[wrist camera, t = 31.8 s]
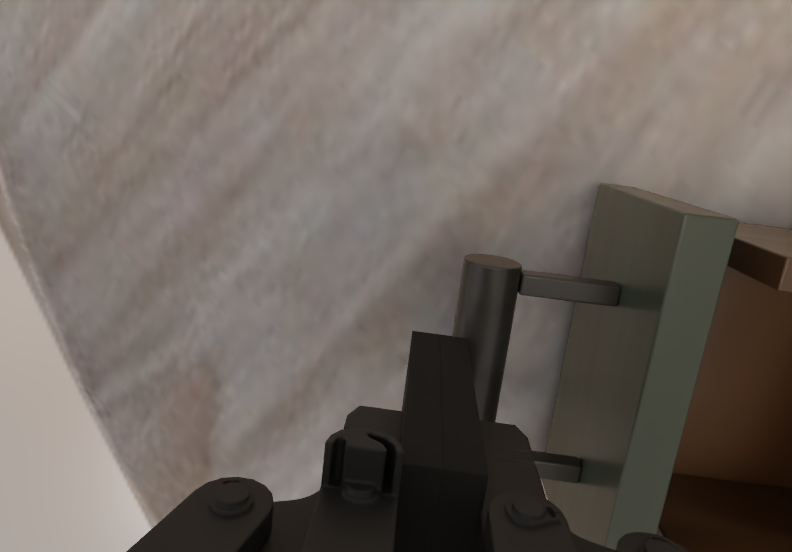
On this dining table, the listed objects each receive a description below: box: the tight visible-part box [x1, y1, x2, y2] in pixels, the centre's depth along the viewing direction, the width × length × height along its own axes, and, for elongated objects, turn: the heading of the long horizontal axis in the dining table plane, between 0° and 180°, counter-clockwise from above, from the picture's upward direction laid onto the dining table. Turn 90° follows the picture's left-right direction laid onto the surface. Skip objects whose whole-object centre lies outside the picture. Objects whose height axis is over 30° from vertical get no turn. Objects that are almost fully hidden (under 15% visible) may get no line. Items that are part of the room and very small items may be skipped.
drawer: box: [452, 183, 792, 552], centre depth 17 cm, size 18×11×7 cm, turn 83°
